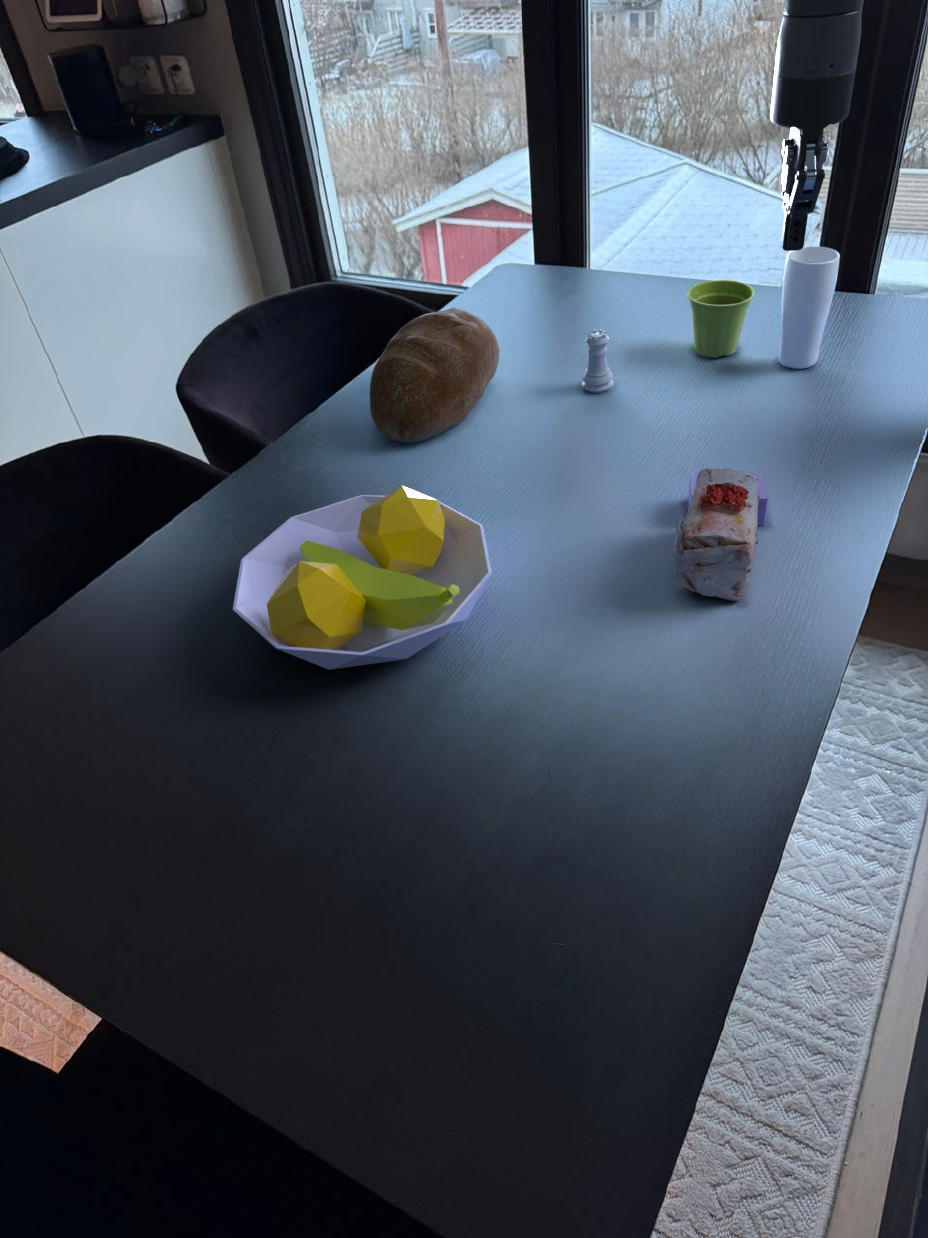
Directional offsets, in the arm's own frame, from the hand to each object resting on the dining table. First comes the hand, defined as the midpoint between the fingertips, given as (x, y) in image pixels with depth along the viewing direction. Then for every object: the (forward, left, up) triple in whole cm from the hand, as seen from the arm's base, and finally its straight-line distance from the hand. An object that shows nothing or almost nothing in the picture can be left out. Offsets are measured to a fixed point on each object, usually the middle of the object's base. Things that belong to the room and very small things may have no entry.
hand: (791, 247), depth 97 cm
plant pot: (+5, -25, -23) cm, 34 cm away
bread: (+45, -12, -23) cm, 52 cm away
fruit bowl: (+43, +37, -23) cm, 61 cm away
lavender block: (+6, +18, -23) cm, 30 cm away
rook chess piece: (+22, -14, -23) cm, 35 cm away
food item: (+8, +28, -23) cm, 37 cm away
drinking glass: (-6, -20, -23) cm, 31 cm away
